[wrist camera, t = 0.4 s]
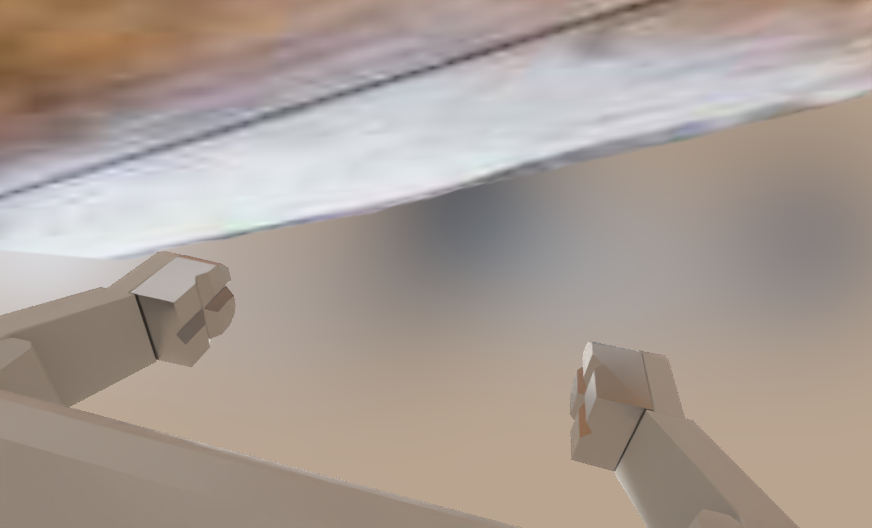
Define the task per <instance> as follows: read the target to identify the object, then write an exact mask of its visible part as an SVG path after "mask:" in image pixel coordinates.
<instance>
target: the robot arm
mask: <svg viewBox="0 0 872 528" xmlns="http://www.w3.org/2000/svg"><path fill="white" fill-rule="evenodd" d="M230 281H231V278H230V274H229V269H228V267H226V266H225V265H223V264H220V263H216V262H212V261H207V260H203V259H199V258H194V257H190V256H186V255H180V254H176V253H171V252H167V251H163V252H157V253H156V254H155V255H153V256H152V257H150V258H149V259H148V260H146V261H145V262H143V263H142V264H140V265H139V266H138V267H136V268H135V269H133V270H132V271H131V272H129V273H128V274H126V275H125V276H124V277H122V278H121V279H119V280H118V281H117V282H115V283H114V284H112V285H111V286H110V287H108V288H103V287H99V288H96V289H92V290H88V291H85V292H82V293H78V294H75V295H71V296H67V297H64V298H61V299H57V300H54V301H50V302H46V303H43V304H40V305H36V306H32V307H29V308H25V309H22V310H18V311H15V312H12V313H8V314H4V315H1V316H0V528H521V527H517V526H513V525H509V524H506V523H502V522H498V521H494V520H491V519H486V518H483V517H479V516H476V515H472V514H468V513H464V512H460V511H457V510H453V509H449V508H445V507H442V506H438V505H434V504H430V503H426V502H423V501H419V500H415V499H411V498H407V497H404V496H400V495H396V494H393V493H389V492H385V491H381V490H378V489H373V488H370V487H366V486H362V485H359V484H355V483H351V482H347V481H343V480H340V479H336V478H332V477H328V476H325V475H321V474H317V473H313V472H310V471H306V470H302V469H299V468H295V467H291V466H287V465H284V464H280V463H276V462H272V461H269V460H265V459H261V458H257V457H254V456H250V455H246V454H243V453H239V452H235V451H231V450H227V449H224V448H220V447H216V446H213V445H209V444H205V443H201V442H198V441H194V440H190V439H186V438H182V437H179V436H175V435H171V434H168V433H163V432H160V431H156V430H152V429H149V428H145V427H141V426H137V425H133V424H129V423H126V422H122V421H118V420H115V419H111V418H107V417H104V416H100V415H96V414H92V413H89V412H85V411H81V410H77V409H73V408H70V406H72V405H74V404H76V403H78V402H80V401H82V400H84V399H85V398H87V397H89V396H91V395H93V394H95V393H97V392H99V391H101V390H103V389H105V388H107V387H108V386H110V385H112V384H114V383H116V382H118V381H120V380H122V379H124V378H126V377H128V376H130V375H132V374H134V373H135V372H137V371H139V370H141V369H143V368H145V367H147V366H149V365H151V364H153V363H155V362H156V360H161V361H165V362H171V363H175V364H180V365H185V366H189V367H192V366H193V365H194V364H195V363H196V362H197V361H198V360H199V359H200V357H201V356H202V355H203V354H204V353H205V352H206V351H207V350H208V349H209V348H210V339H211V338H213V337H216V336H218V335H221V334H222V333H223V332H224V331H225V330H226V329H227V328H228V326H229V325H230V323H231V321H232V318H233V316H234V313H235V299H234V295H233V294H232V293H231V291H230V290H229V289H228V288H227V285H228V283H229V282H230ZM570 415H571V416H572V417H573V419H574V420H575V421H574V424H573V427H572V429H571V460H575V461H578V462H582V463H586V464H590V465H594V466H597V467H601V468H604V469H608V470H612V471H615V475H616V477H617V479H618V480H619V482H620V484H621V485H622V487H623V488H624V490H625V492H626V493H627V495H628V497H629V498H630V500H631V502H632V503H633V505H634V506H635V508H636V510H637V511H638V513H639V515H640V516H641V518H642V519H643V521H644V523H645V524H646V526H647V528H799V527H798V526H797V525H796V524H795V523H794V522H793V521H792V520H791V519H790V518H789V517H788V516H787V515H786V514H785V513H784V512H783V511H782V510H781V509H780V508H779V507H778V506H777V505H776V504H775V503H774V502H773V501H772V500H771V499H770V498H769V497H768V496H767V495H766V494H765V492H764V491H763V490H762V489H761V488H760V487H759V486H758V485H757V484H756V483H755V482H753V481H752V479H750V477H749V476H748V475H747V474H746V473H745V472H744V471H743V470H742V469H741V468H740V467H739V466H738V465H737V464H736V463H735V462H734V461H733V460H732V459H731V458H730V457H729V456H728V455H727V454H726V453H725V452H724V451H723V450H722V449H721V448H720V447H719V446H718V445H717V444H716V443H715V442H714V441H713V440H712V439H711V438H710V437H709V436H708V435H707V434H706V433H705V432H704V431H703V430H702V429H701V428H700V427H699V426H698V425H697V424H696V423H695V422H694V421H693V420H689V419H685V417H684V413H683V410H682V406H681V403H680V399H679V395H678V392H677V389H676V385H675V382H674V378H673V374H672V371H671V367H670V364H669V360H668V358H667V357H666V356H665V355H660V354H654V353H649V352H644V351H635V350H630V349H626V348H621V347H616V346H611V345H606V344H601V343H596V342H591V341H589V342H588V343H587V345H586V347H585V350H584V352H583V367H582V368H580V369H579V370H577V372H576V375H575V378H574V381H573V386H572V391H571V399H570Z"/></svg>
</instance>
